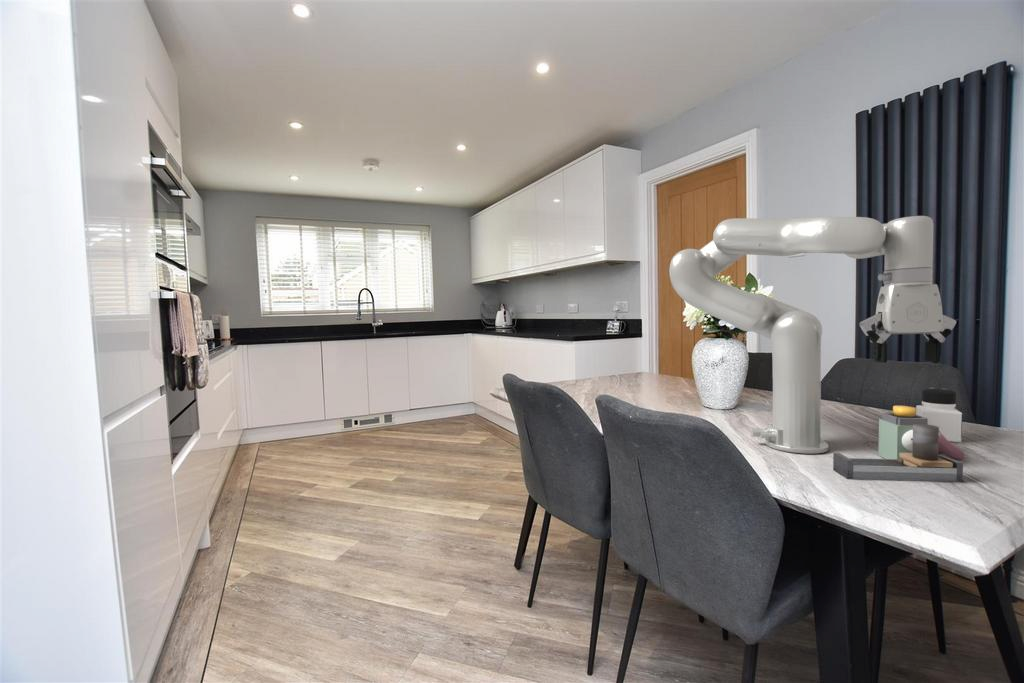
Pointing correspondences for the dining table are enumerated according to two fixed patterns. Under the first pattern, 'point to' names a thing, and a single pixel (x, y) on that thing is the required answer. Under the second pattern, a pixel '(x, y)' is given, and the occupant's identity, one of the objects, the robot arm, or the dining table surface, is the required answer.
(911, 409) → the button
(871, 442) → the dining table surface
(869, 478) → the track
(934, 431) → the carriage
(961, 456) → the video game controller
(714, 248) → the robot arm
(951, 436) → the medicine bottle
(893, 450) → the gauge cabinet
